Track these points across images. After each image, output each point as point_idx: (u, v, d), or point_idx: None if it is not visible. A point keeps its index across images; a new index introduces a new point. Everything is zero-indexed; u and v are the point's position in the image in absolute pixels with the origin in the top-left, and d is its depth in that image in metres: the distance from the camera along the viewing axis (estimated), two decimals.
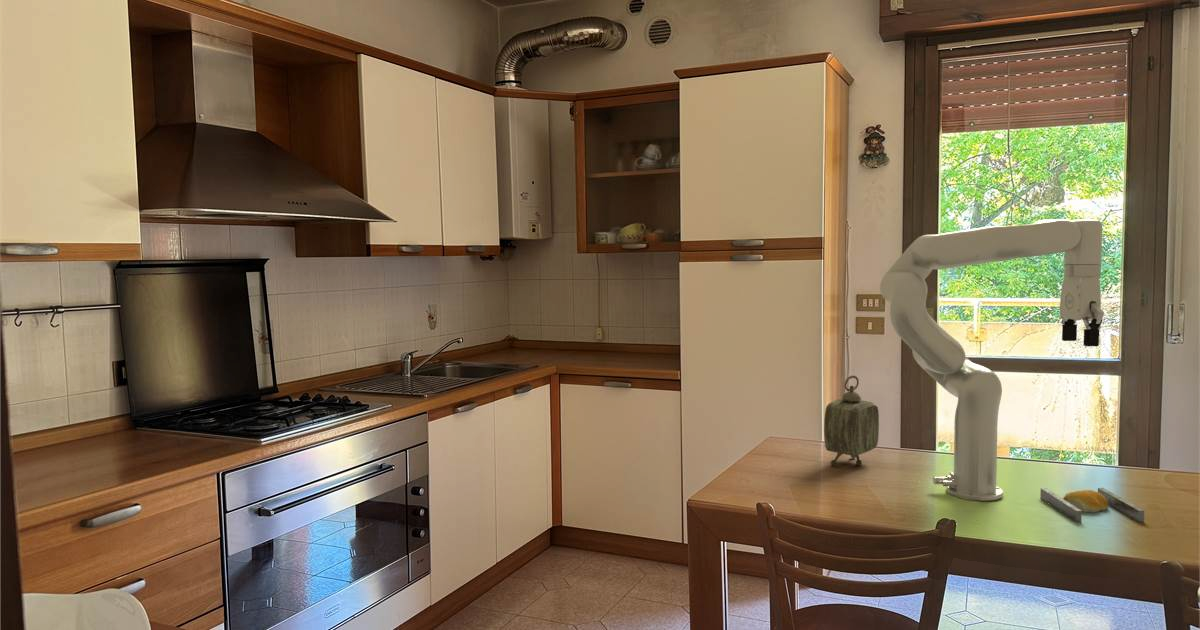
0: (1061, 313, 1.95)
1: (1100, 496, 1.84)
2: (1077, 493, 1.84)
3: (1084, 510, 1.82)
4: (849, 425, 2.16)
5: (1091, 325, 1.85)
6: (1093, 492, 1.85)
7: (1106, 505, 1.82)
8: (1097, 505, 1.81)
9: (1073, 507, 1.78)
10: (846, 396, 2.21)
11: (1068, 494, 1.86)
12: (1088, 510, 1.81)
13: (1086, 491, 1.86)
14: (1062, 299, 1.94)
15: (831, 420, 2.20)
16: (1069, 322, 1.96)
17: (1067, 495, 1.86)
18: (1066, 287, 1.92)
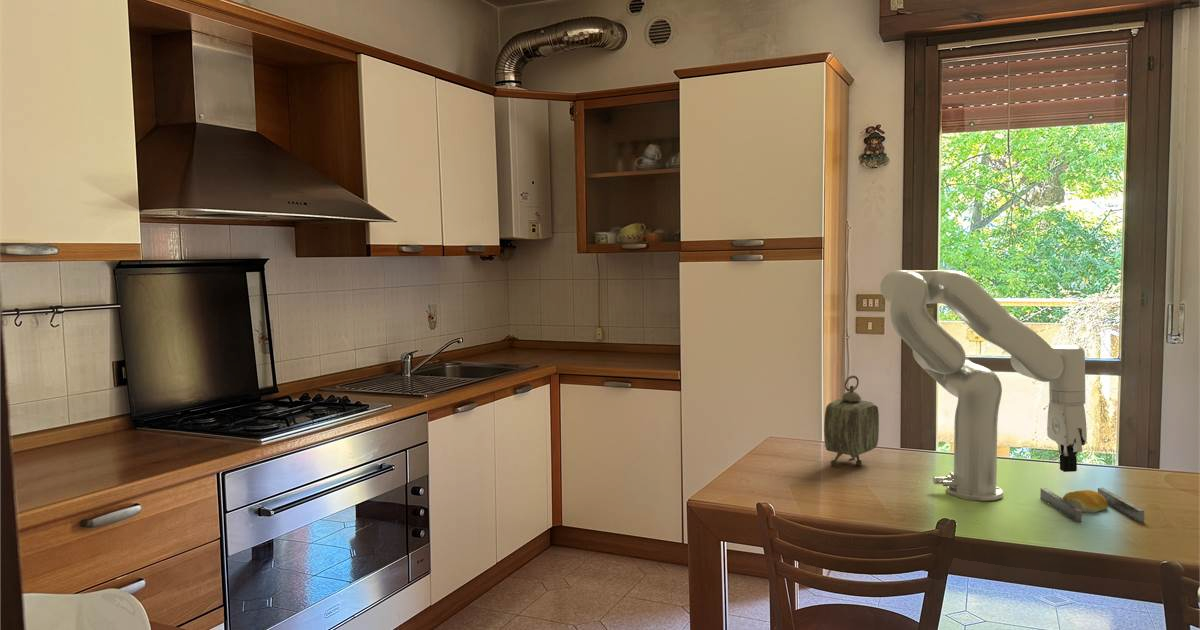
0: (1049, 435, 1.98)
1: (1099, 496, 1.84)
2: (1076, 493, 1.84)
3: (1083, 510, 1.82)
4: (849, 425, 2.16)
5: (1068, 453, 1.92)
6: (1092, 492, 1.85)
7: (1105, 505, 1.82)
8: (1096, 505, 1.81)
9: (1073, 507, 1.78)
10: (846, 396, 2.21)
11: (1067, 494, 1.86)
12: (1088, 510, 1.81)
13: (1085, 491, 1.86)
14: (1049, 421, 1.97)
15: (831, 420, 2.20)
16: None
17: (1066, 495, 1.86)
18: (1052, 411, 1.95)
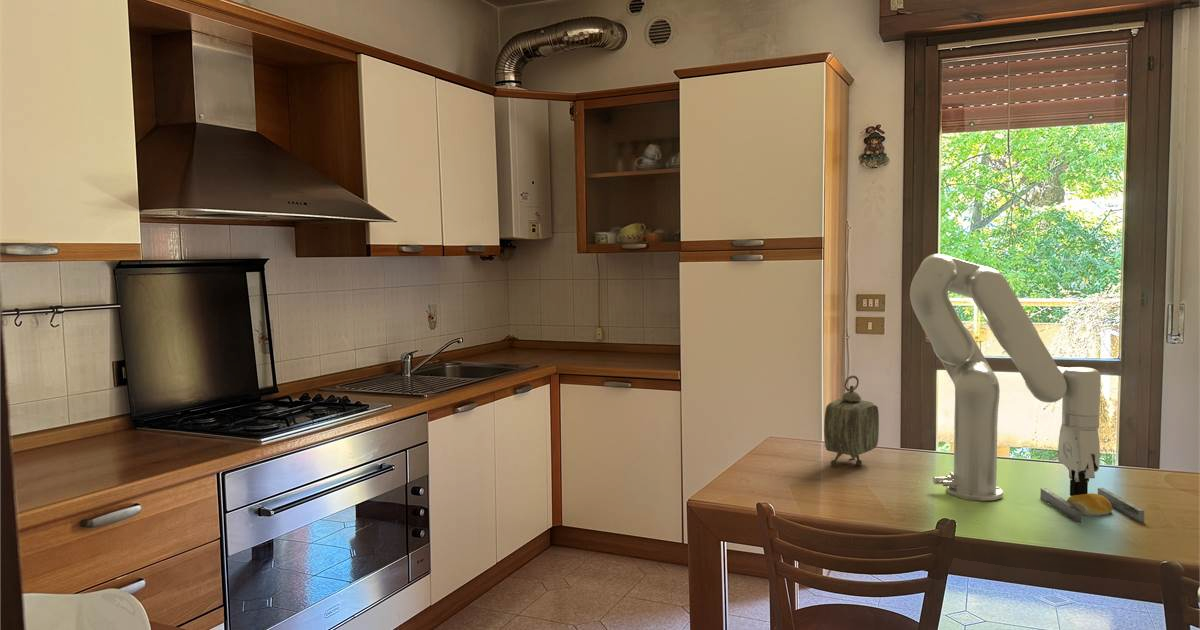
0: (1059, 459, 1.91)
1: (1104, 500, 1.81)
2: (1080, 496, 1.82)
3: (1087, 513, 1.79)
4: (849, 425, 2.16)
5: (1079, 479, 1.86)
6: (1097, 495, 1.82)
7: (1110, 509, 1.80)
8: (1100, 508, 1.79)
9: (1073, 507, 1.78)
10: (846, 396, 2.21)
11: (1071, 497, 1.83)
12: (1091, 513, 1.79)
13: (1090, 494, 1.83)
14: (1060, 445, 1.91)
15: (831, 420, 2.20)
16: None
17: (1070, 498, 1.83)
18: (1064, 434, 1.89)
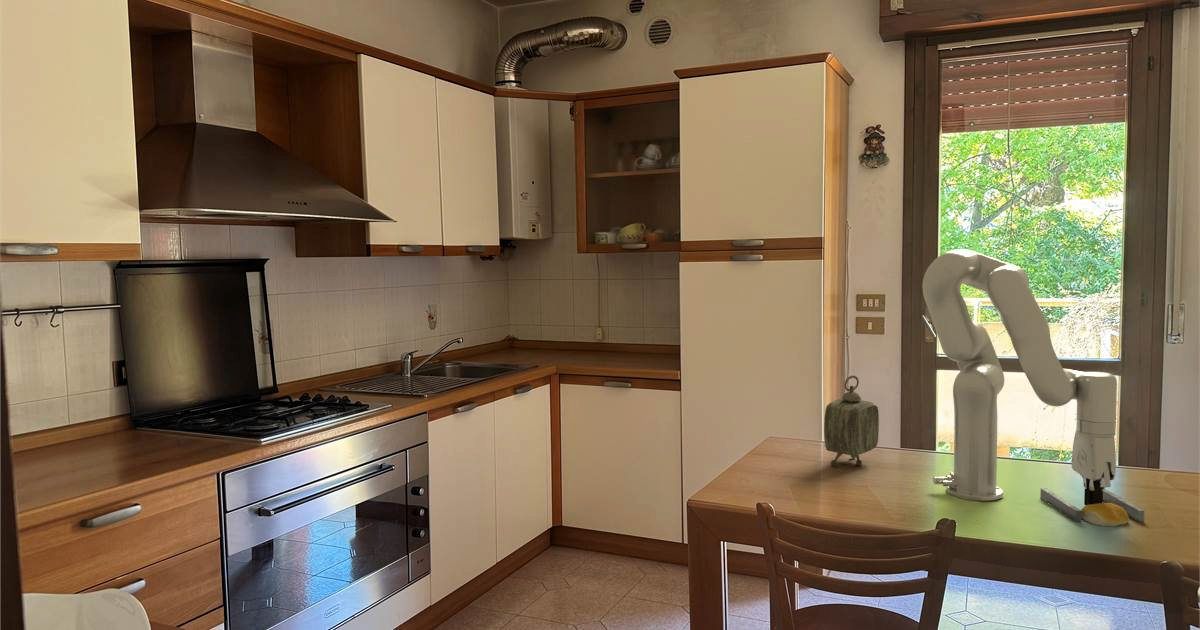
0: (1073, 467, 1.85)
1: (1120, 509, 1.75)
2: (1095, 506, 1.76)
3: (1102, 524, 1.73)
4: (849, 425, 2.16)
5: (1094, 487, 1.80)
6: (1113, 505, 1.76)
7: (1126, 519, 1.73)
8: (1115, 519, 1.72)
9: (1073, 507, 1.78)
10: (846, 396, 2.21)
11: (1086, 506, 1.77)
12: (1106, 524, 1.73)
13: (1105, 504, 1.77)
14: (1074, 452, 1.84)
15: (831, 420, 2.20)
16: None
17: (1085, 507, 1.77)
18: (1079, 442, 1.82)
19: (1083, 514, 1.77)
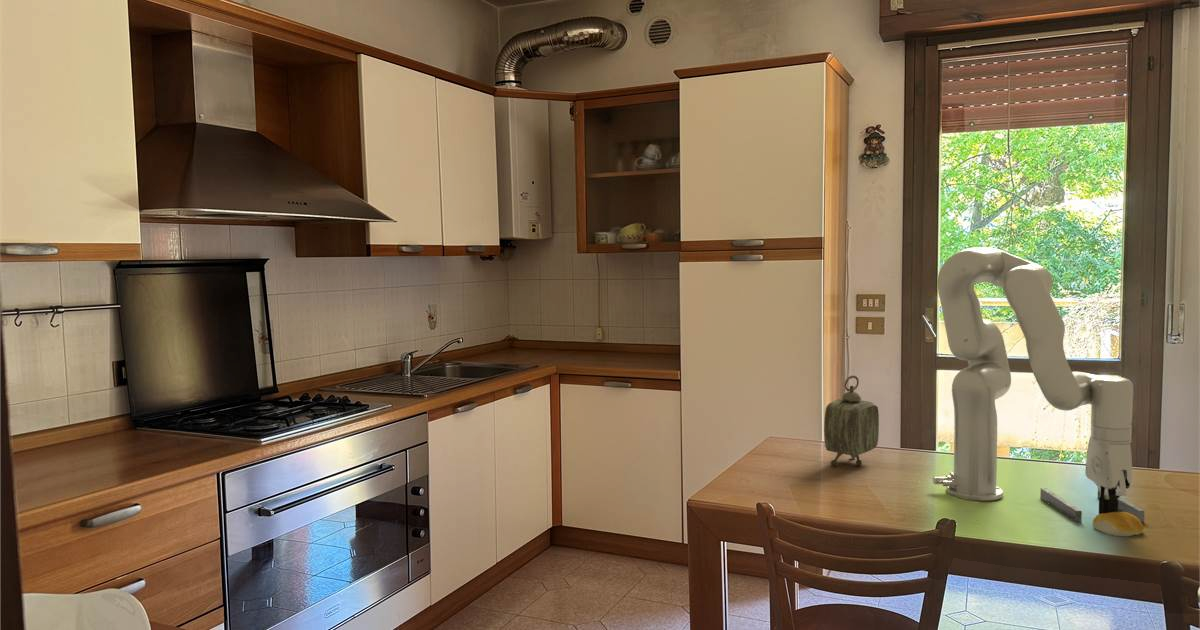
0: (1087, 474, 1.79)
1: (1134, 519, 1.69)
2: (1108, 515, 1.70)
3: (1114, 533, 1.67)
4: (849, 425, 2.16)
5: (1109, 496, 1.74)
6: (1127, 514, 1.70)
7: (1140, 529, 1.67)
8: (1129, 529, 1.66)
9: (1073, 507, 1.78)
10: (846, 396, 2.21)
11: (1098, 515, 1.71)
12: (1119, 533, 1.67)
13: (1119, 513, 1.71)
14: (1088, 459, 1.79)
15: (831, 420, 2.20)
16: None
17: (1097, 516, 1.71)
18: (1093, 448, 1.76)
19: (1095, 523, 1.71)
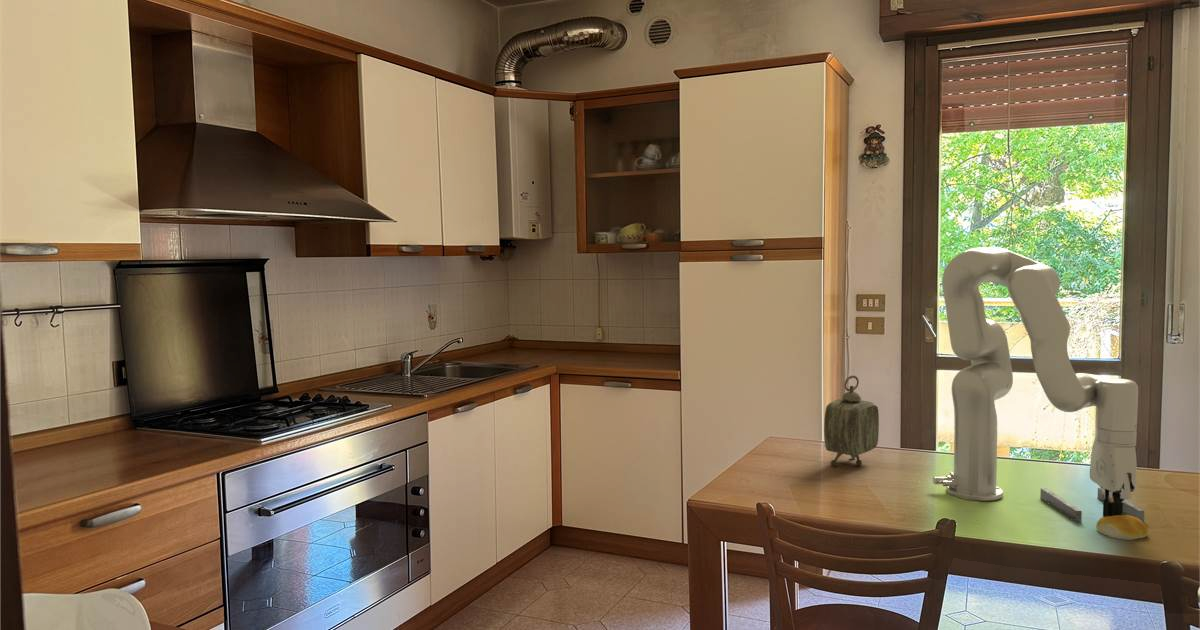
0: (1091, 477, 1.77)
1: (1138, 522, 1.67)
2: (1112, 518, 1.68)
3: (1118, 537, 1.65)
4: (849, 425, 2.16)
5: (1114, 499, 1.72)
6: (1131, 517, 1.68)
7: (1144, 533, 1.66)
8: (1133, 532, 1.65)
9: (1073, 507, 1.78)
10: (846, 396, 2.21)
11: (1102, 518, 1.70)
12: (1123, 537, 1.65)
13: (1123, 516, 1.69)
14: (1092, 462, 1.77)
15: (831, 420, 2.20)
16: None
17: (1101, 520, 1.70)
18: (1097, 451, 1.75)
19: (1099, 526, 1.69)
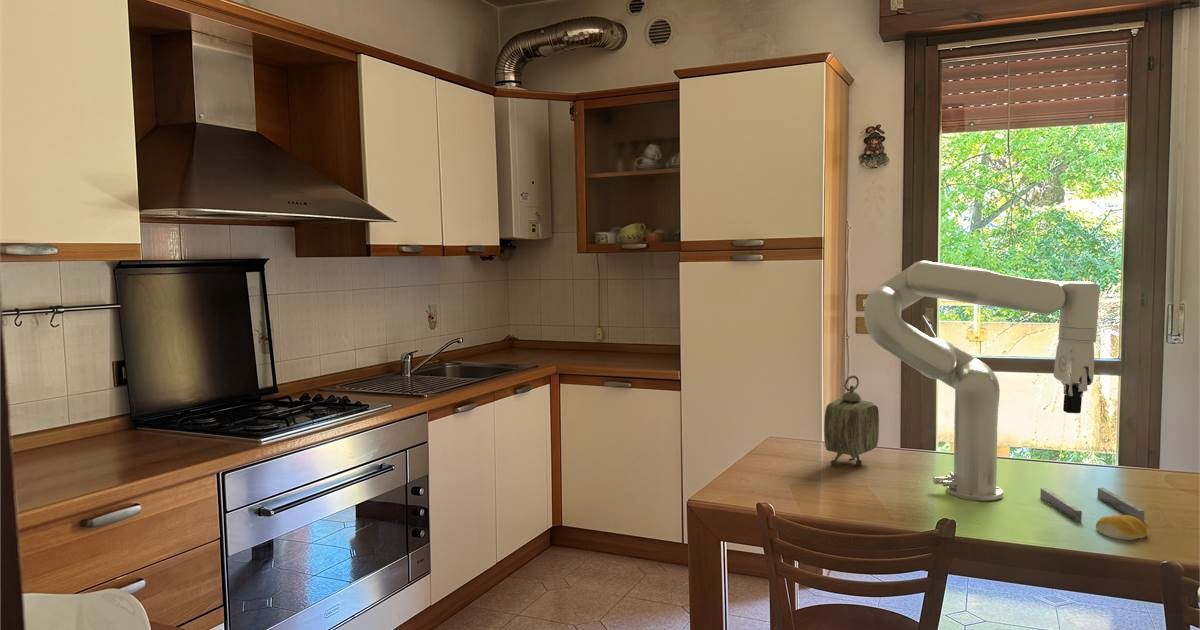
0: (1055, 375, 1.90)
1: (1138, 522, 1.67)
2: (1111, 518, 1.68)
3: (1118, 537, 1.65)
4: (849, 425, 2.16)
5: (1073, 393, 1.85)
6: (1130, 518, 1.68)
7: (1144, 533, 1.66)
8: (1133, 532, 1.65)
9: (1073, 507, 1.78)
10: (846, 396, 2.21)
11: (1102, 519, 1.70)
12: (1123, 537, 1.65)
13: (1123, 516, 1.69)
14: (1056, 360, 1.90)
15: (831, 420, 2.20)
16: None
17: (1100, 520, 1.70)
18: (1060, 349, 1.88)
19: (1099, 526, 1.69)
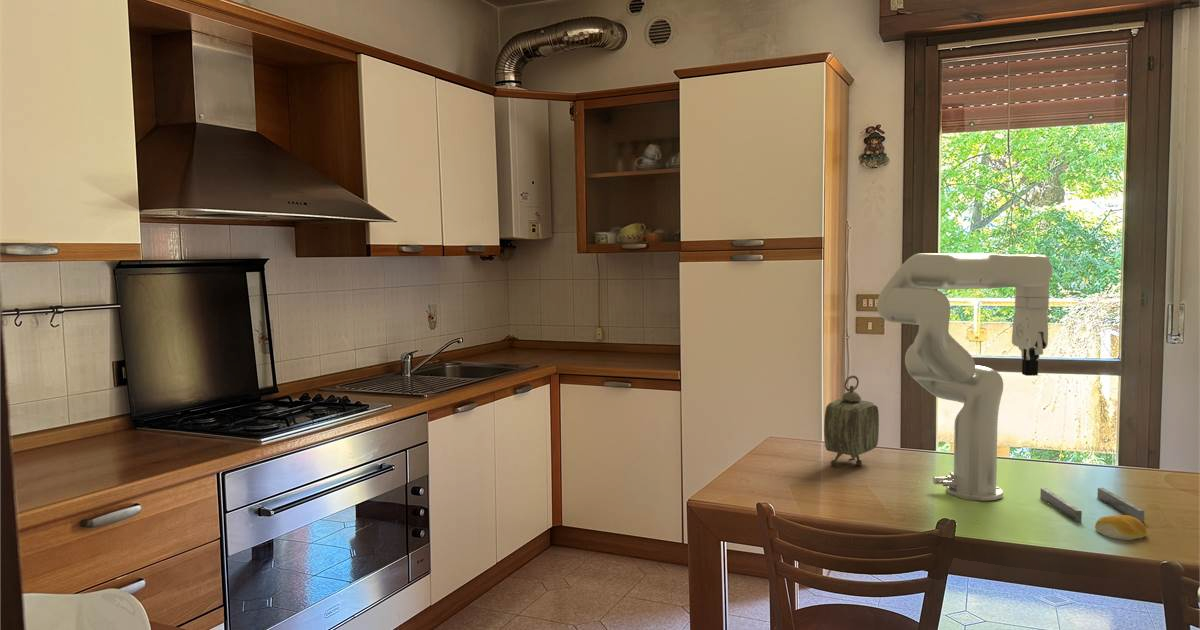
0: (1013, 341, 2.08)
1: (1137, 522, 1.67)
2: (1111, 518, 1.68)
3: (1117, 537, 1.65)
4: (849, 425, 2.16)
5: (1030, 357, 2.03)
6: (1130, 518, 1.68)
7: (1143, 533, 1.66)
8: (1132, 532, 1.65)
9: (1073, 507, 1.78)
10: (846, 396, 2.21)
11: (1101, 519, 1.70)
12: (1122, 537, 1.65)
13: (1122, 516, 1.69)
14: (1014, 328, 2.07)
15: (831, 420, 2.20)
16: None
17: (1100, 520, 1.70)
18: (1017, 317, 2.05)
19: (1098, 526, 1.69)
